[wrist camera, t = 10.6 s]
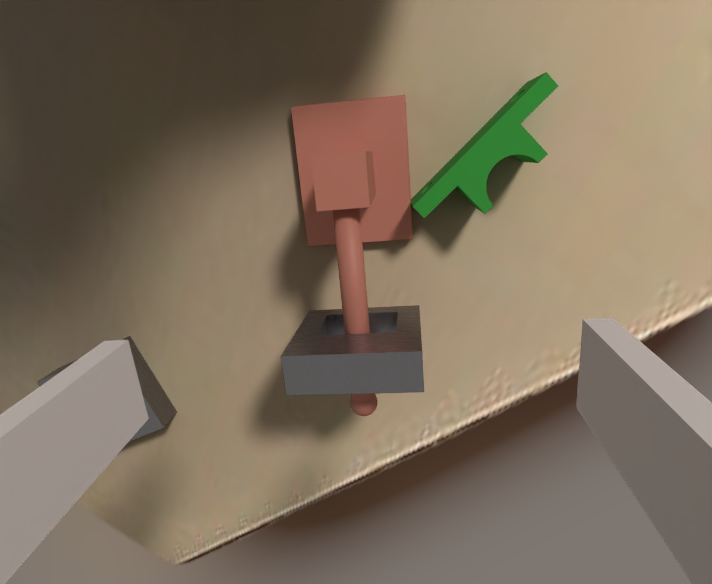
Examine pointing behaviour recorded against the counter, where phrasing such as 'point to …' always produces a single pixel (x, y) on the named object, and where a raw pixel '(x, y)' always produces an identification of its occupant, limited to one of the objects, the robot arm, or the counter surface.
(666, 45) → the counter surface
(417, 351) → the link
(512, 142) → the pipe clamp
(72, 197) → the counter surface
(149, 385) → the link
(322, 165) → the hook
